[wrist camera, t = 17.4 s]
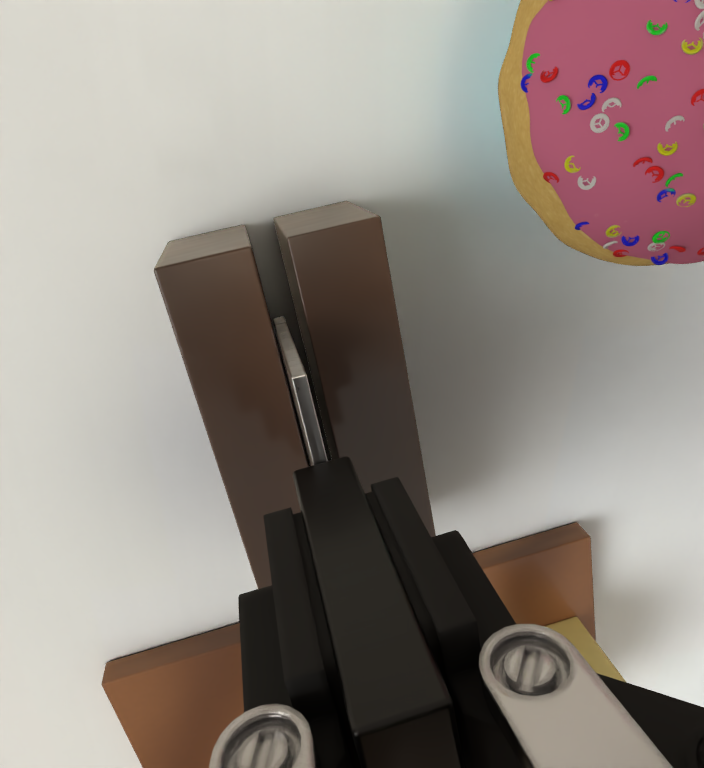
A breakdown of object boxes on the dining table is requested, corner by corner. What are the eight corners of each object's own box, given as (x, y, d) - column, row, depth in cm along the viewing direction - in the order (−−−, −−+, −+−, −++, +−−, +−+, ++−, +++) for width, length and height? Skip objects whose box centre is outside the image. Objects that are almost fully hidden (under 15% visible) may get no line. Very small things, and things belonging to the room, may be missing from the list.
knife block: (347, 200, 18) (381, 215, 14) (407, 513, 22) (445, 587, 18) (167, 241, 17) (152, 269, 13) (265, 554, 21) (274, 639, 18)
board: (577, 521, 24) (591, 536, 23) (589, 732, 28) (601, 752, 27) (105, 661, 22) (100, 684, 21) (203, 863, 26) (202, 889, 26)
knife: (301, 310, 15) (431, 569, 6) (354, 534, 18) (498, 943, 9) (254, 322, 15) (314, 604, 6) (315, 546, 18) (419, 974, 9)
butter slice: (576, 614, 24) (631, 687, 21) (582, 695, 26) (633, 773, 23) (529, 630, 24) (576, 705, 21) (537, 710, 26) (583, 791, 22)
